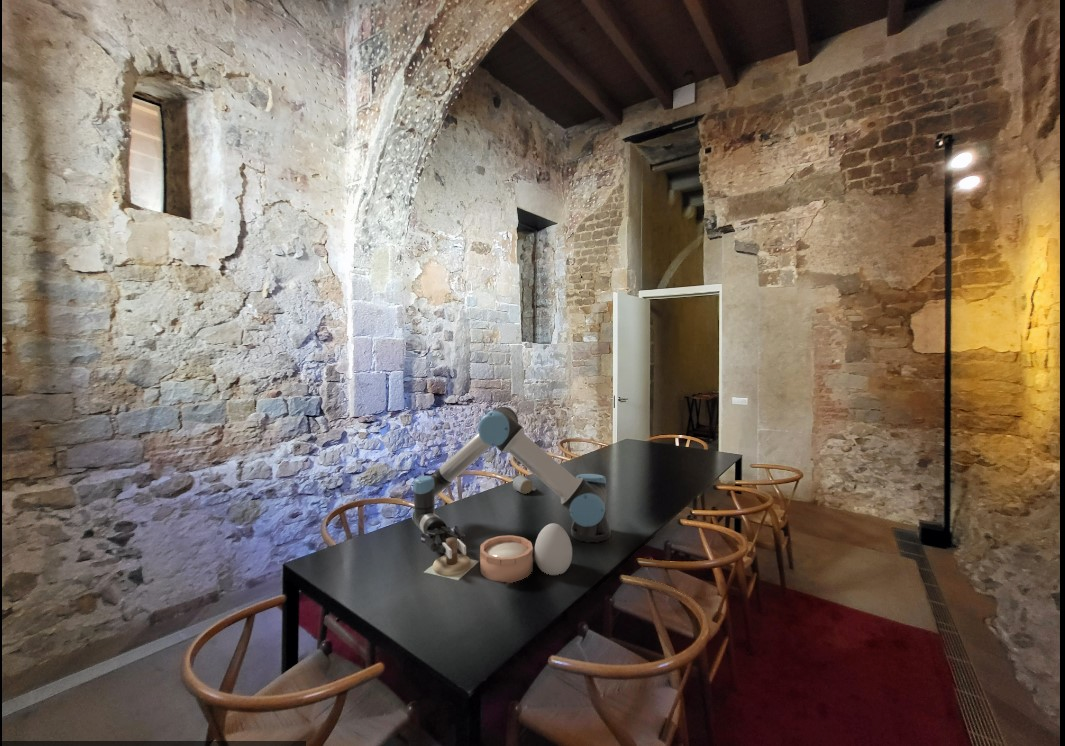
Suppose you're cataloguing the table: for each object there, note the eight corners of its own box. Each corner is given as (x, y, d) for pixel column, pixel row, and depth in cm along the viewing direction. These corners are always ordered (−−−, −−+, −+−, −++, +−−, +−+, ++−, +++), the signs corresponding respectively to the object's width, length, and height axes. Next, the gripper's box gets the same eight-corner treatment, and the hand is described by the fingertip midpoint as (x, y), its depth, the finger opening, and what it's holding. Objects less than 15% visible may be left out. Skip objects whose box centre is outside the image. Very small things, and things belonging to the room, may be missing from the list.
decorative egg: (567, 558, 151) (566, 515, 150) (576, 576, 139) (576, 530, 138) (531, 561, 149) (531, 518, 148) (538, 580, 137) (537, 533, 136)
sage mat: (479, 562, 149) (479, 561, 149) (458, 581, 137) (458, 580, 137) (446, 555, 154) (446, 554, 154) (423, 573, 142) (423, 572, 142)
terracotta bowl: (540, 562, 148) (540, 540, 148) (519, 588, 133) (518, 563, 132) (495, 553, 155) (495, 532, 155) (470, 576, 140) (469, 553, 139)
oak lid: (477, 561, 148) (476, 535, 148) (457, 579, 137) (456, 550, 137) (447, 555, 153) (446, 529, 152) (425, 571, 142) (425, 544, 142)
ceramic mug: (521, 496, 214) (521, 480, 214) (512, 491, 221) (512, 476, 220) (539, 492, 220) (539, 476, 219) (530, 487, 227) (530, 473, 226)
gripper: (455, 531, 165) (482, 556, 145) (409, 543, 156) (431, 571, 136) (455, 512, 164) (482, 534, 144) (409, 522, 155) (431, 547, 135)
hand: (457, 552), depth 140 cm, fingers open, 4 cm apart
